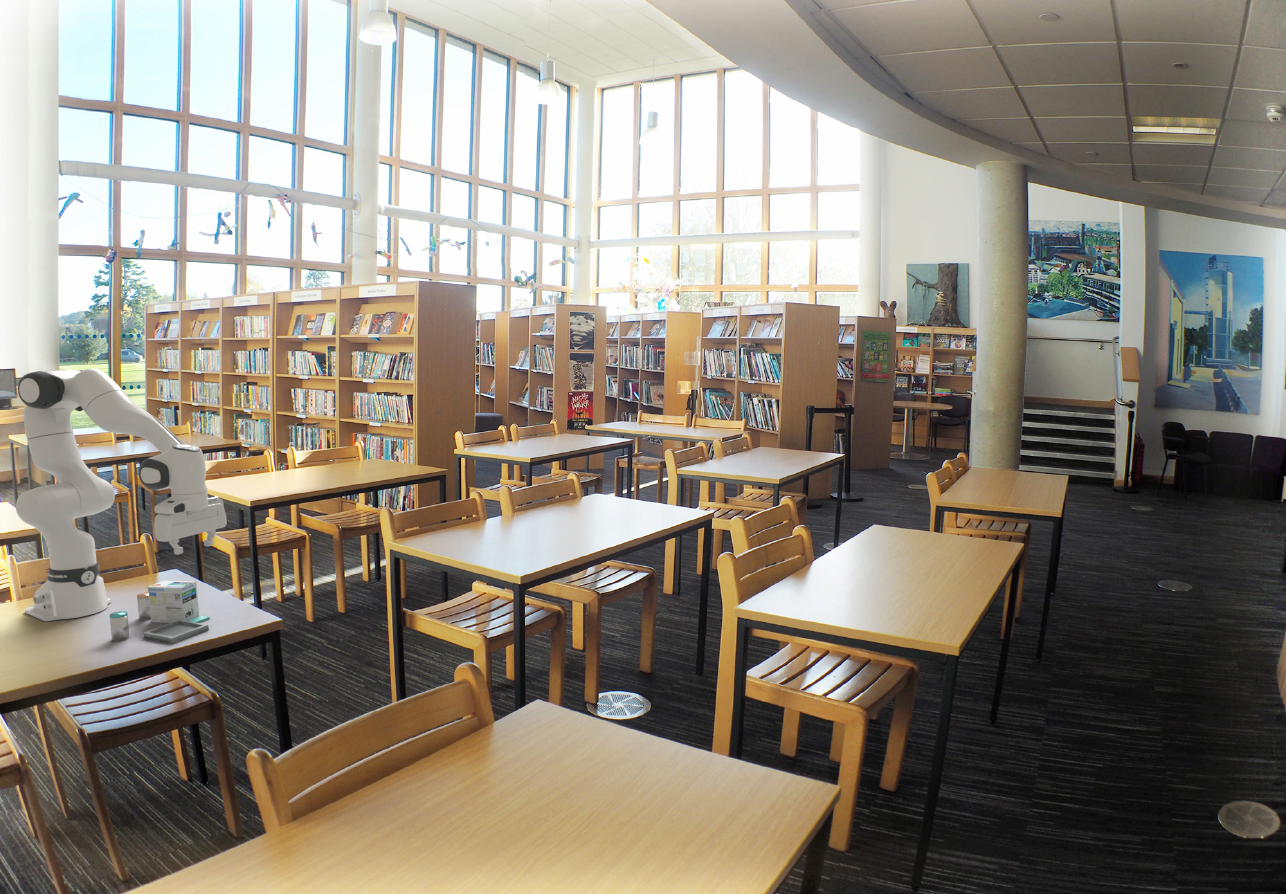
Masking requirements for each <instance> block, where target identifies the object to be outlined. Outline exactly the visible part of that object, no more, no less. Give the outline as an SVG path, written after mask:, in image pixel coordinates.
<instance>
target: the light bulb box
mask: <svg viewBox="0 0 1286 894" xmlns="http://www.w3.org/2000/svg"><path fill="white" fill-rule="evenodd" d="M197 587H198V586H197V581H196V580H191V581H190V580H186V581H185V580H165V579H164V580H161V581H159V582H156V583H154V584H151V585H149V586H147V592H148V595H149V606H150V617H151V619H150V623H158V624H159V623H164V624H169V623H172V622H175V621H178V620H186V621H188V620H191V619H194V618H197V617H199V616H200V611H199V610H200V609H199V597H198V589H197Z"/></svg>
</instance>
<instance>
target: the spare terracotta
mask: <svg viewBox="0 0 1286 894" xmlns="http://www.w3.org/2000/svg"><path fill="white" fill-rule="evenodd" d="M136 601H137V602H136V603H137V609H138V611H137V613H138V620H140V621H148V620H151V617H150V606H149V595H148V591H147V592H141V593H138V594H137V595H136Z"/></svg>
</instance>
